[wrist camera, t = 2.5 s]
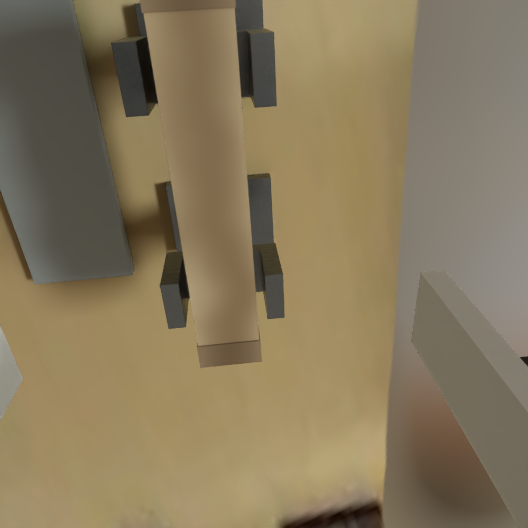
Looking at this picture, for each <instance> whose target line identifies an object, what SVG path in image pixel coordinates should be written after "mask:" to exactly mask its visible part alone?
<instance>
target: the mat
mask: <svg viewBox="0 0 528 528" xmlns="http://www.w3.org/2000/svg"><path fill="white" fill-rule="evenodd" d="M0 190H1V193H2V196H3V199H4V201H5V204H6V207H7V210H8V212H9V215H10V218H11V220H12V223H13V226H14V229H15V231H16V234H17V237H18V240H19V242H20V245H21V248H22V250H23V253H24V256H25V259H26V261H27V264H28V267H29V270H30V272H31V275H32V278H33V280H34V283H35V284H42V283H53V282H64V281H75V280H86V279H97V278H108V277H119V276H130V275H133V272H134V266H133V262H132V257H131V253H130V249H129V244H128V240H127V236H126V231H125V227H124V223H123V218H122V214H121V210H120V205H119V201H118V197H117V192H116V188H115V184H114V179H113V175H112V170H111V166H110V162H109V157H108V153H107V149H106V144H105V140H104V136H103V131H102V127H101V123H100V118H99V114H98V110H97V105H96V101H95V97H94V92H93V88H92V84H91V79H90V75H89V71H88V66H87V62H86V58H85V53H84V49H83V44H82V40H81V36H80V31H79V27H78V23H77V18H76V14H75V10H74V5H73V1H72V0H0Z"/></svg>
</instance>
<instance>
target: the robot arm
mask: <svg viewBox="0 0 528 528" xmlns="http://www.w3.org/2000/svg"><path fill="white" fill-rule="evenodd" d="M411 341H412V343H413V345H414V347H415V348H416V350H417V352H418V354H419V355H420V357H421V359H422V361H423V362H424V364H425V366H426V368H427V369H428V371H429V373H430V374H431V376H432V378H433V380H434V381H435V383H436V385H437V387H438V388H439V390H440V392H441V393H442V395H443V397H444V399H445V400H446V402H447V404H448V406H449V407H450V409H451V411H452V413H453V414H454V416H455V418H456V420H457V421H458V423H459V425H460V426H461V428H462V430H463V432H464V433H465V435H466V437H467V439H468V440H469V442H470V444H471V446H472V447H473V449H474V451H475V453H476V454H477V456H478V458H479V460H480V461H481V463H482V465H483V466H484V468H485V470H486V472H487V473H488V475H489V477H490V478H491V480H492V482H493V484H494V485H495V487H496V489H497V491H498V492H499V494H500V496H501V498H502V499H503V501H504V503H505V505H506V506H507V508H508V510H509V512H510V513H511V515H512V517H513V518H514V520H515V522H516V524H517V525H518V527H519V528H528V357H519V356H518V355H517V354H516V353H515V351H514V350H513V349H512V348H511V347H510V346H509V344H508V343H507V342H506V341H505V340H504V339H503V337H502V336H501V335H500V334H499V333H498V332H497V331H496V329H495V328H494V327H493V326H492V325H491V324H490V322H489V321H488V320H487V319H486V318H485V317H484V316H483V314H482V313H481V312H480V311H479V310H478V308H477V307H476V306H475V305H474V304H473V303H472V302H471V300H470V299H469V298H468V297H467V296H466V295H465V294H464V292H463V291H462V290H461V289H460V288H459V286H458V285H457V284H456V283H455V282H454V281H453V279H452V278H451V277H450V276H449V275H448V274H447V272H446V271H445V270H441V271H429V272H421V273H420V280H419V288H418V295H417V302H416V309H415V317H414V324H413V331H412V338H411ZM22 379H23V378H22V375H21V373H20V371H19V369H18V366H17V364H16V362H15V359H14V357H13V355H12V352H11V350H10V348H9V345H8V343H7V341H6V338H5V336H4V334H3V331H2V329H1V327H0V420H1V418H2V417H3V415H4V413H5V411H6V409H7V407H8V405H9V404H10V402H11V400H12V398H13V396H14V394H15V392H16V391H17V389H18V387H19V385H20V383H21V381H22Z"/></svg>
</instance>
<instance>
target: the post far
mask: <svg viewBox="0 0 528 528" xmlns="http://www.w3.org/2000/svg"><path fill="white" fill-rule="evenodd" d="M247 181H248V195H249V208H250V221H251V235H252V248H253V262H254V275H255V289H256V292H260V291H263V294H264V300H265V306H266V312H267V318H268V319H274V318H284V291H283V273H282V269H281V265H280V260H279V256H278V252H277V248H276V244H275V243H274V240H273V219H272V198H271V178H270V174H258V175H247ZM166 190H167V196H168V202H169V208H170V214H171V220H172V225H173V231H174V237H175V243H176V249H177V252H170V253H167V254H166V259H165V263H164V268H163V273H162V278H161V283H160V288H161V293H162V298H163V303H164V308H165V313H166V318H167V323H168V328H169V329H172V328H182V327H186V321H187V311H188V300H189V298H190V294H189V288H188V282H187V276H186V270H185V264H184V258H183V251H182V245H181V239H180V233H179V227H178V221H177V215H176V209H175V203H174V196H173V190H172V184H171V182H167V184H166Z"/></svg>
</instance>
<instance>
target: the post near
mask: <svg viewBox="0 0 528 528" xmlns="http://www.w3.org/2000/svg"><path fill="white" fill-rule="evenodd" d="M235 2H236V7H235V20H236V33H237V47H238V60H239V74H240V87H241V97H251V99H252V101H253V104H254V107H255V108H257V107H270V106H277V103H276V77H275V50H274V32H272V31H270V30H268V29H263V8H262V0H235ZM135 9H136V15H137V20H138V26H139V32H140V37H127V38H124V39H121V40H118V41H115V42H112V43H111V44H112V49H113V54H114V59H115V64H116V69H117V74H118V79H119V84H120V89H121V94H122V99H123V104H124V109H125V114H126V117H133V116H147V115H149V114H150V112H151V111H152V109H153V108H154V106H155V104H156V103H158V99H157V93H156V86H155V80H154V74H153V68H152V62H151V56H150V50H149V44H148V38H147V31H146V25H145V19H144V13H142V11H141V5H140V3H138V4H135Z"/></svg>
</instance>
